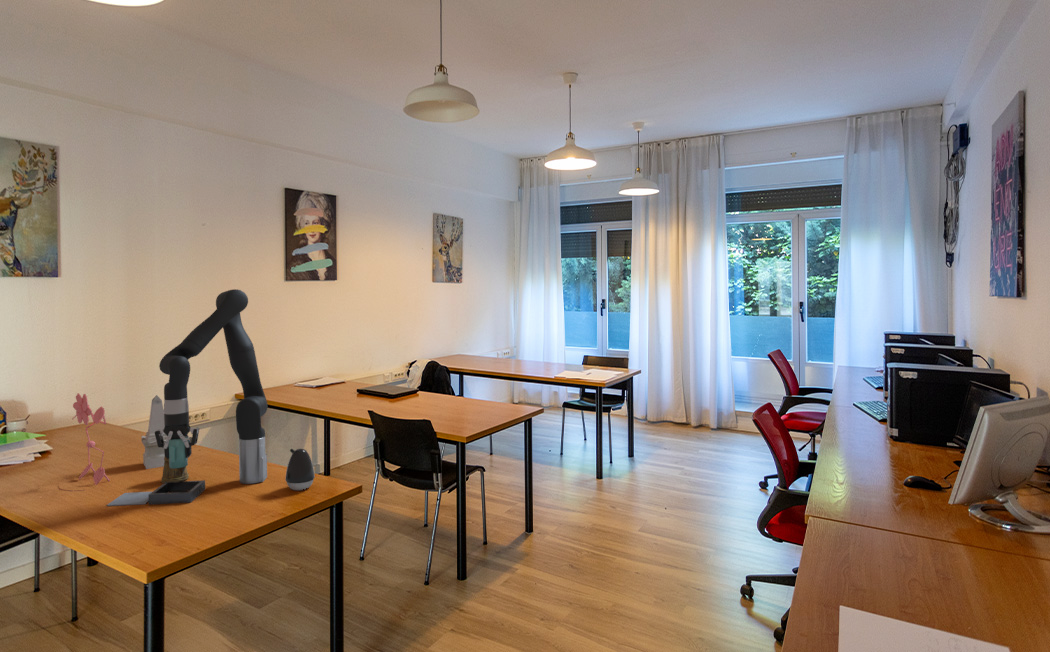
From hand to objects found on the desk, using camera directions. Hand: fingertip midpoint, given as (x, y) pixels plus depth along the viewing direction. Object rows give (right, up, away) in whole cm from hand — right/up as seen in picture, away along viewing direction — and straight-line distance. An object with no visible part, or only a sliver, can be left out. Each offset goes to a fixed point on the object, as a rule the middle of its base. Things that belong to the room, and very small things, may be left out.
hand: (178, 457), depth 200 cm
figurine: (-45, -13, +14) cm, 49 cm away
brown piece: (-11, -14, +18) cm, 26 cm away
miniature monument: (-33, -12, +39) cm, 52 cm away
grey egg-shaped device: (+39, -15, +12) cm, 43 cm away
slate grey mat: (-15, -14, -2) cm, 20 cm away
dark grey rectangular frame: (-1, -14, +1) cm, 14 cm away
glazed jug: (0, -3, 0) cm, 3 cm away
